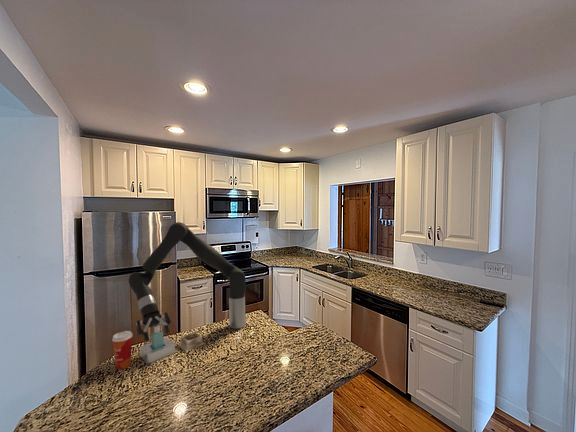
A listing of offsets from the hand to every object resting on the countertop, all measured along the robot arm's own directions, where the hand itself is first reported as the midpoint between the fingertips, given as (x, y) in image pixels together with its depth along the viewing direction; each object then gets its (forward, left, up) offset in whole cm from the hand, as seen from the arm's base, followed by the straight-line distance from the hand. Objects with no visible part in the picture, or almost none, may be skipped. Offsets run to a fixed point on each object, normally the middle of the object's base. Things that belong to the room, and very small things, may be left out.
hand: (157, 337), depth 120 cm
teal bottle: (-1, -1, -8) cm, 8 cm away
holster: (-12, +9, -9) cm, 18 cm away
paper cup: (+9, -10, -9) cm, 17 cm away
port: (0, -1, -9) cm, 9 cm away
